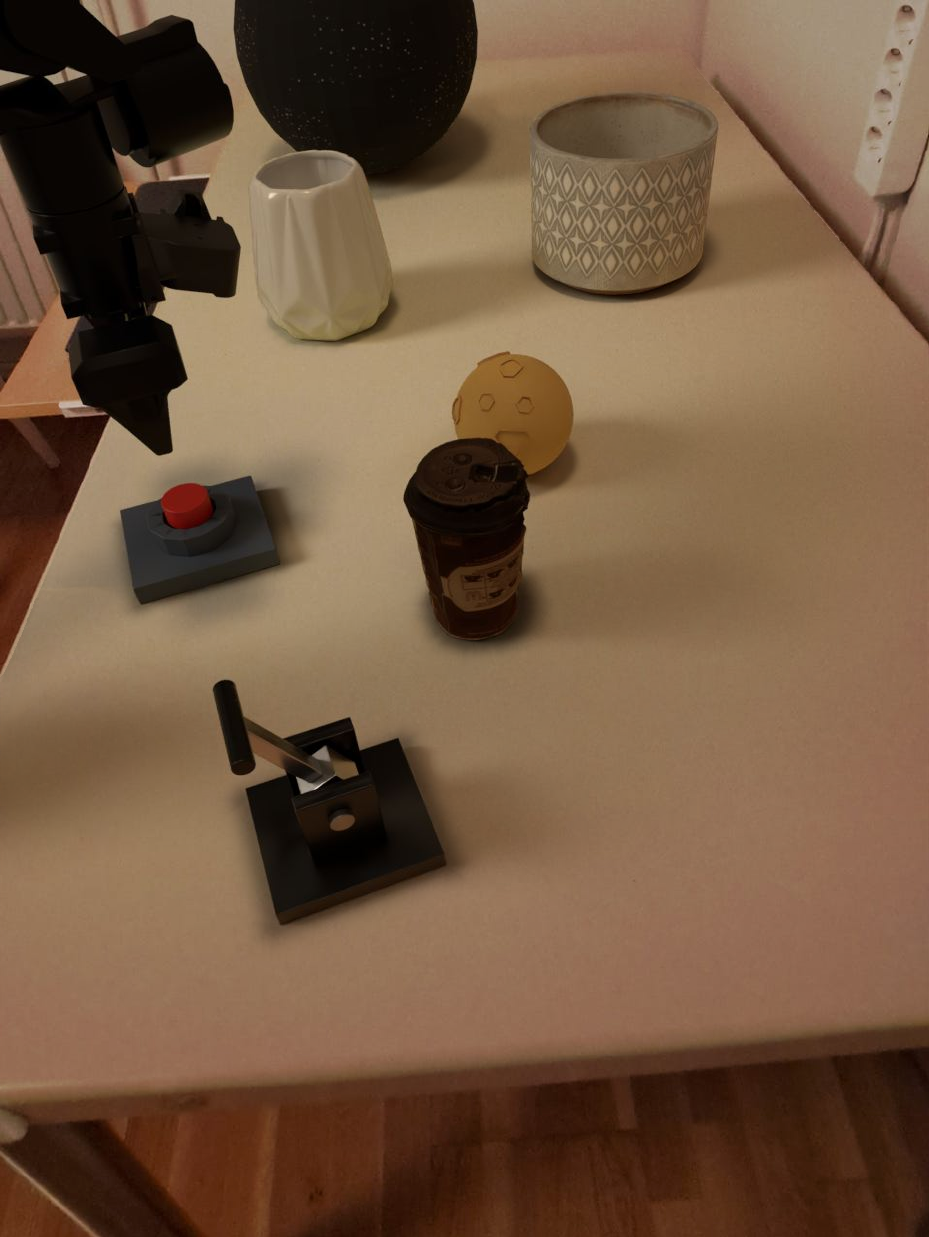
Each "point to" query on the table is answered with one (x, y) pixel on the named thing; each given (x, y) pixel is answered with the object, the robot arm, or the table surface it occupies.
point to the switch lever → (273, 746)
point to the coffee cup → (470, 533)
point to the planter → (620, 190)
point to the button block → (198, 543)
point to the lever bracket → (342, 826)
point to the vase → (318, 245)
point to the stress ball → (516, 408)
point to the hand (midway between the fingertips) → (157, 416)
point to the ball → (358, 72)
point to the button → (187, 506)
